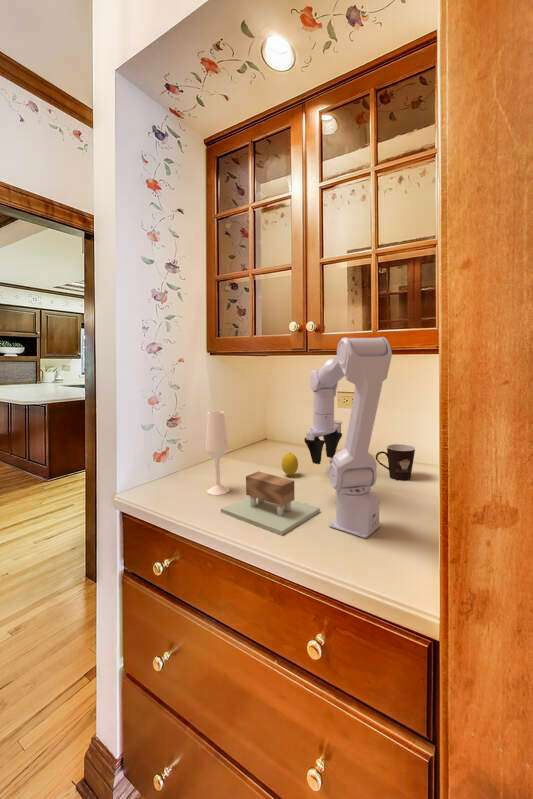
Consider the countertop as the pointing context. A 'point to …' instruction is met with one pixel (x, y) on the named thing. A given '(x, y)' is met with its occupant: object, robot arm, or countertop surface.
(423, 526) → the countertop surface
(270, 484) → the shelf block
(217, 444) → the champagne flute
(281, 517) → the peg base
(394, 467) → the coffee mug
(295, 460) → the lemon
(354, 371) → the robot arm
